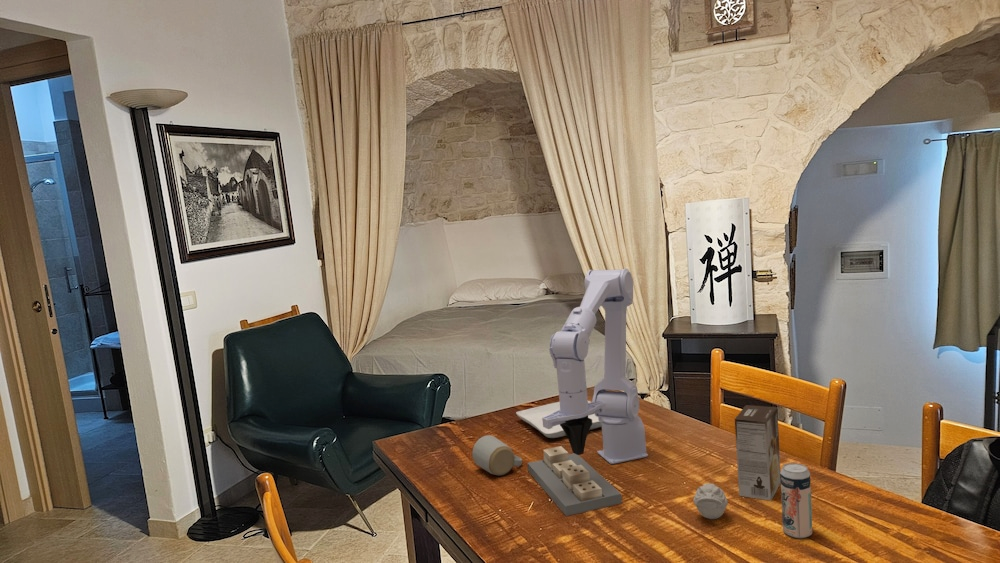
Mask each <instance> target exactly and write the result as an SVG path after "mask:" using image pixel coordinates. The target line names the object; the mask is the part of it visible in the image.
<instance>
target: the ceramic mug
mask: <svg viewBox="0 0 1000 563" xmlns="http://www.w3.org/2000/svg"><path fill="white" fill-rule="evenodd" d="M471 452H472V460H473V462H474V463H475V465H477V466H478V467H480V468H481V469H482V470H485V471H486V472H488V473H489V474H491V475H494V476H497V477H498V476H505V475H506V474H508V473H510V471H511V470H512V469H513V467H521V466H522V462H523V458H521V457H519V456H518V455H516V454H515V453H514V451H513V450H512V448H511V447H510V446H509V445H508V444H506V443H504V442H503V441H501V440H500V439H498V438H497V437H496V436H493V435H490V434H486V435H483V436H481V437H480V438H479V439H477V440H476V442H475V443H474V446H473V448H472V451H471Z"/></svg>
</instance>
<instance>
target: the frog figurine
mask: <svg viewBox="0 0 1000 563" xmlns="http://www.w3.org/2000/svg"><path fill="white" fill-rule="evenodd" d="M695 491H696V492H695V494H694V497H693V504H694V505H695V506H696V509H697V511H698V512H699V514H701V516H702V517H704V518H706V519H708V520H716V519H719V518H720V517H722V516H723V514H724V512H725V510H726V508H727V506H728V503H729V502H728V498H727V497H726V494H725V492H724V490H723V489H722V488H721V487H719V486H717V485H716V484H714V483H708V482H706V483H704V484H703V485H702V486H701V485H700V486H699V487H698V488H697V489H696V490H695Z"/></svg>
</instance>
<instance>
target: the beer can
mask: <svg viewBox="0 0 1000 563" xmlns="http://www.w3.org/2000/svg"><path fill="white" fill-rule="evenodd" d="M780 478H781V483H780V494H781V495H780V496H781V500H780V501H781V516H782V517H781V519H782V520H781V521H782V531H783V533H784V534H786V535H788V536H789V537H791V538H793V539H794V538H795V539H805V538H808V537H810V536H812V534H813V533H814V532H813V512H812V509H813V508H812V487H811V486H812V485H811V484H812V483H811V472H810V470H809V469H808V467H807V466H806V465H804V464H801V463H796V462H795V463H794V462H793V463H792V462H791V463H790V462H789V463H785V464H783V466H782V468H781V469H780Z"/></svg>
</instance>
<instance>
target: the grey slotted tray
mask: <svg viewBox="0 0 1000 563" xmlns="http://www.w3.org/2000/svg"><path fill="white" fill-rule="evenodd" d="M568 457H569V460H572V461H573V462H574V463H575V464H576V465H582V466H583V467H584V468H585V469H586V470H587V471H589V475H590V481H592V480H593V481H594V482H595V483H596V484H597V485H598V486H599V487H600V488H602V497H600V498H596V499H591V500H587V501H582V502H580V501H579V500H578V499H577V497H576V496H575V495H574V492H573V489H572V490H569V489H568V488H567V487H566V486H565V484H564V483H563V478H562V479H559V478H558V477H557V476H556V475H555V474H554V473H553V468H552V469H550V468H549V467H548V466H547V465H546V464H545V463H544V459H540V460H536V461H530V462H527V463H526V464H527V471H528V473H529V474H530V475H531V476H532V478H533V479H534V480H535V481H536V482H537V483H538V485H539V486H540V487H541V488H542V489H543V490H544V492H545V493H546V494H547V495H548V496H549V498H551V500H552V501H553V502H554V504H555V505H556V506H557V507H558V508H559V509H560V510H561V512H562V513H563V514H564V515H565V517H567V516H572V515H577V514H580V513H586V512H590V511H594V510H598V509H599V510H600V509H603V508H607V507H612V506H616V505H620V504H623V500H622V499H623V497H622V493H621V492H620V491H619V490H618V489H617V488H616V487H614V486H613V485H612V484H611V483H610V482H609V481H608V480H607V479H606V478H604V476H603V475H601V474H600V473H599V472H598V471H597V470H596V469H594V468H593V467H592V466H591V465H590V464H589V463H588V462H587V461H586V460H585V459H584V458H582V456H580V455H577V454H575V453H568Z"/></svg>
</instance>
